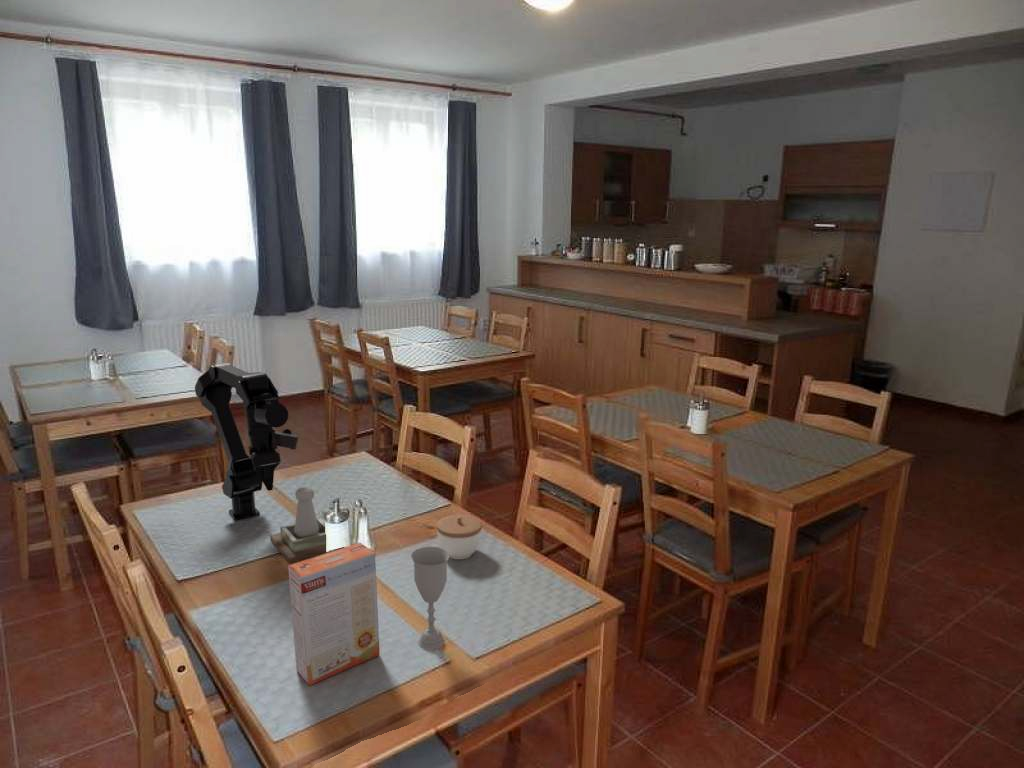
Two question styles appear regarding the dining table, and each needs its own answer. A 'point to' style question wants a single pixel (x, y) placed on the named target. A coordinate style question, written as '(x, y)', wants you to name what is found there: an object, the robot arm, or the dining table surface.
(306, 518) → the salt shaker
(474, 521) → the lidded jar
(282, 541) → the stand
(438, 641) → the chalice
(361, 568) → the cracker box
